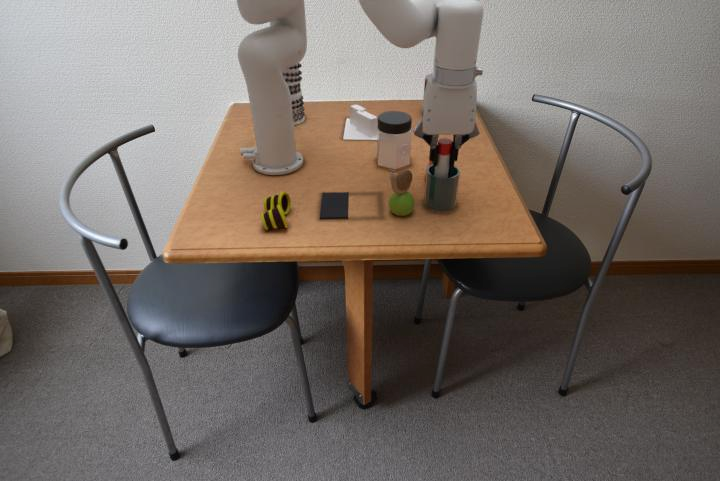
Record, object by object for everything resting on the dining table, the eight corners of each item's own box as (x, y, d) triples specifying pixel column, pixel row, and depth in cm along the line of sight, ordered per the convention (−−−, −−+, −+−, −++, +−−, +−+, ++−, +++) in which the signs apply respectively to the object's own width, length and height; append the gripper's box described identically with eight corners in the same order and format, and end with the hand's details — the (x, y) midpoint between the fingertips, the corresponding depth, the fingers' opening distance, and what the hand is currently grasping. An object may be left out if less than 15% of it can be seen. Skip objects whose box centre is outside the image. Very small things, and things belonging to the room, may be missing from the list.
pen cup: (426, 213, 101) (429, 178, 96) (422, 196, 107) (425, 163, 102) (457, 213, 101) (462, 178, 96) (452, 196, 107) (456, 162, 102)
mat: (319, 219, 100) (319, 217, 100) (322, 194, 108) (322, 192, 108) (381, 218, 100) (381, 216, 100) (379, 193, 108) (379, 191, 108)
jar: (388, 173, 115) (389, 127, 108) (369, 161, 121) (369, 116, 114) (417, 164, 119) (420, 118, 112) (397, 151, 125) (399, 107, 117)
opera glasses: (270, 210, 104) (262, 191, 101) (293, 205, 104) (286, 186, 101) (265, 236, 97) (256, 216, 94) (290, 231, 96) (282, 211, 93)
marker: (432, 199, 102) (439, 144, 94) (431, 192, 104) (437, 138, 96) (445, 199, 102) (453, 144, 94) (444, 192, 104) (451, 138, 96)
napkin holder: (384, 139, 131) (384, 120, 127) (342, 139, 131) (342, 120, 128) (383, 118, 143) (384, 99, 139) (346, 118, 143) (345, 99, 140)
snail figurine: (379, 215, 101) (380, 165, 94) (399, 204, 104) (402, 154, 97) (398, 226, 98) (401, 175, 90) (419, 214, 101) (423, 163, 94)
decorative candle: (271, 117, 144) (260, 29, 129) (300, 111, 147) (292, 25, 132) (280, 128, 138) (269, 37, 122) (310, 122, 141) (303, 33, 126)
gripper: (492, 67, 90) (478, 155, 101) (407, 67, 90) (401, 155, 101) (502, 81, 84) (485, 172, 95) (410, 81, 84) (404, 172, 95)
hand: (442, 162), depth 98 cm, fingers closed on marker, 2 cm apart
